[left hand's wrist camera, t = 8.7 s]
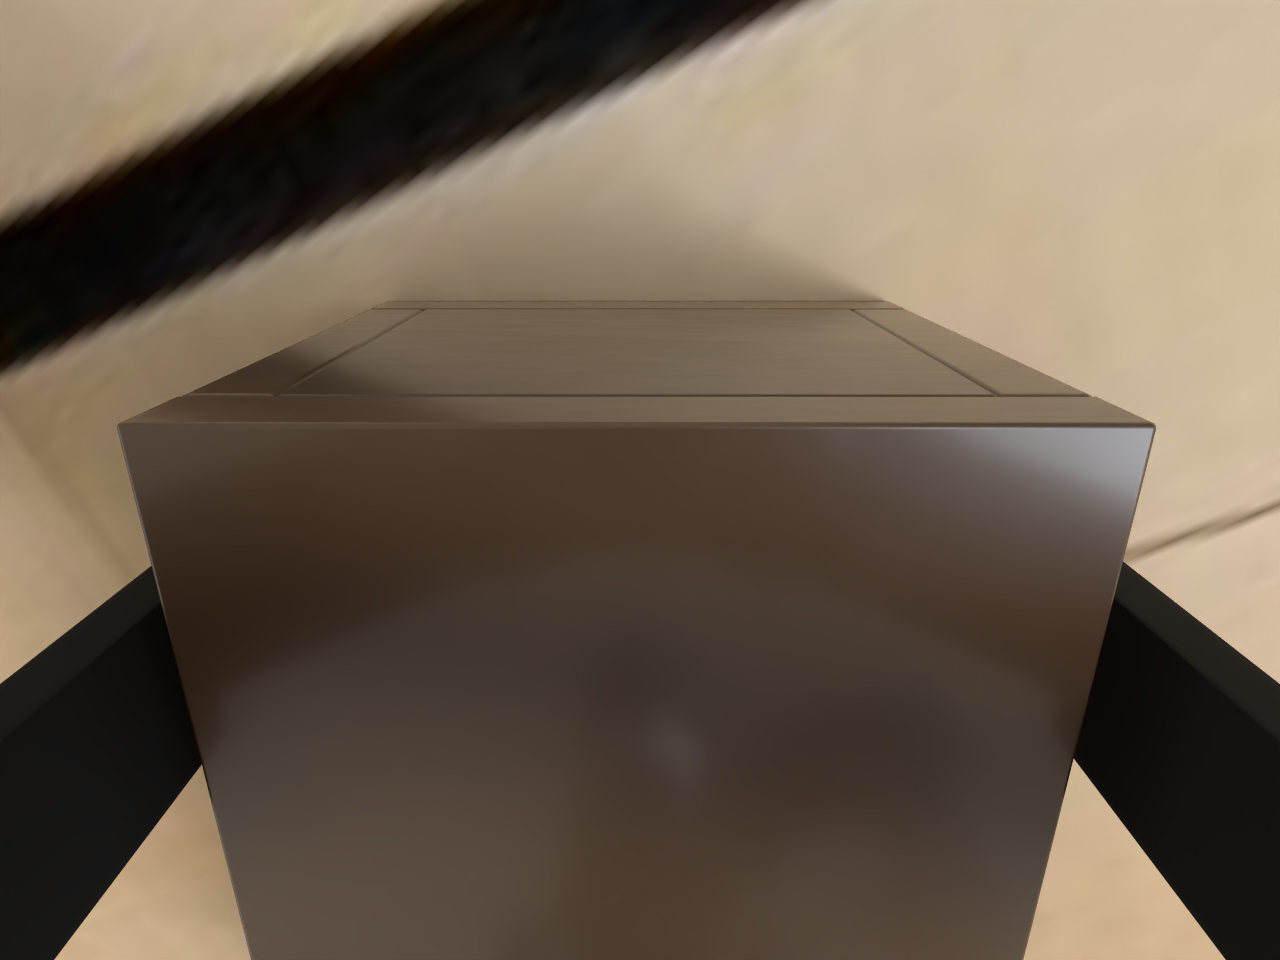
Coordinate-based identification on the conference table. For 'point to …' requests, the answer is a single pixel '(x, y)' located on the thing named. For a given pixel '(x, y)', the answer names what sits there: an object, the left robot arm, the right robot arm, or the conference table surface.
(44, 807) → the left robot arm
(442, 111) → the conference table surface
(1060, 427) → the cabinet
